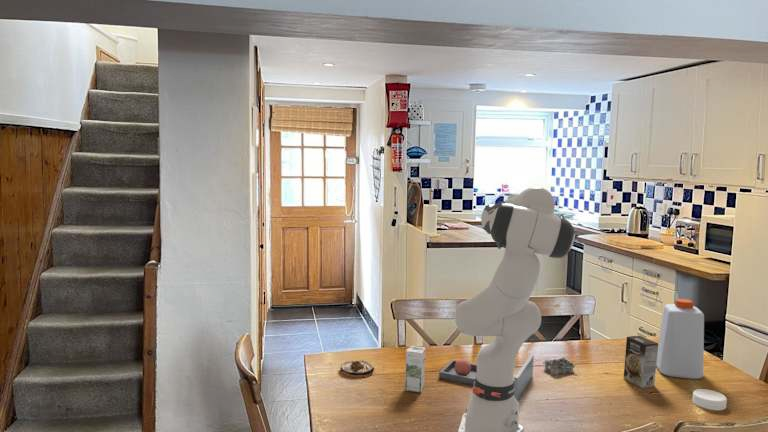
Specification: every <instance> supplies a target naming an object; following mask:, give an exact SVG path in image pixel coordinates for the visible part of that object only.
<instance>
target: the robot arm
mask: <svg viewBox="0 0 768 432" xmlns="http://www.w3.org/2000/svg"><path fill="white" fill-rule="evenodd" d="M555 206H556V205H555V199H554V195H553V194H552V193H551V192H550V191H549V190H548V189H546V188H544V187H539V186H533V187H529V188H526V189H524V190H523V191H521V192H520V193H512V194H510V195H508V196H507V199H506V200H505V199H504V200H503V201H500V202H497V203H495V204H494V203H489V204H487V205H486V206H485V207H484V208H483V210H482V213H481V217H480V219H481V220H480V221H481V226H482V227H481V228H482V230H484V231H485V232H486V233H487V234H488V235H490V236H491V238H492V240H493V241H494V243H496V245H497V249H499V250H501V248H502V247H503V248H504V254H503V257H502V259H501V261H500V262H499V264H498V267H497V268H496V270H495V273H494V275H493V277H492V279H491V281H490V284H489V285H488V286H487V287H486V288H485V289H484V290H483V291H481V292H480V293H479V294H477V295H475V296H473V297H472V298H469V299H466V300H463V301H461V302H460V303H459V304H458V305H457V307H456V308H455V311H454V323H455V326H456V329H458V331H459V332H460V333H461V334H463V335H467V336H471V337H495V338H494V340H492V341H491V342H490V343H489V344H487V345H485V346H483V347H482V348H481V349H480V350H479V352H478V354H477V357H476V364H477V372H476V377H475V381H474V386H472V390H471V392H470V399H469V403H468V407H466V410H465V411H466V412H464V413H463V414H462V417H461V421H460V424H459V427H458V431H457V432H525V431H524V430H525V428H524V426H523V425H521V424H520V403H519V401H518V400H516V398H515V397H514V392H515V381H514V378H515V367H516V360H517V355H518V353H519V351H520V349H521V348H522V346H523V345H524V343H525V342H526V341H527V339H529V338H530V337H531V336H532V335H534V334H535V333H537V332H538V330H539V328H540V327H541V324H542V314H541V310H540V309H539V307H538V306H539V305H537V304H536V303H535V302H534V301H531V300H530V298H531V295H532V293H533V292H534V289H535V287H536V285H537V282H538V279H539V276H540V269H541V264H540V263H541V262H540V260H539V258H538V256H537V254H538V255H543V256H548V257H549V258H552V259H562V258H563V257H565V256H567V254H568V253H569V252H570V250H571V249H572V247H573V245H574V242H575V228H574V226H573V224H572V223H571V222H570V221H569V220H568V219H566V218H565V217H564V214H562V213H560V215H559V214H555V213H554V212H555Z"/></svg>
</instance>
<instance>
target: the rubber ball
mask: <svg viewBox="0 0 768 432" xmlns="http://www.w3.org/2000/svg"><path fill="white" fill-rule="evenodd" d="M470 363H471V362H469V361H468V360H467V359H464V358H463V359H462V358H461V359H459V360H457V362H456V364H455V371H456V373H457V374H458V375H462V376H466V375H468V374H469V373H470V371H471V365H470Z"/></svg>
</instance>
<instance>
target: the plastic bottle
mask: <svg viewBox="0 0 768 432" xmlns="http://www.w3.org/2000/svg"><path fill="white" fill-rule="evenodd" d="M674 301H675V303H667V304H665V305H664V306H663V311H662V312H663V313H662V318H661V324H660V328H659V329H660V330H659V336H658V342H657V343H658V353H657V363H656V368H657V369H658V371H659V372H660V373H661V374H662V375H664V376H667V377H671V378H677V379H678V378H681V379H688V380H689V379H690V380H700V379H702V378H703V376H704V358H705V357H704V356H705V355H704V351H705V348H704V347H705V345H704V343H705V338H704V337H705V314H704V313H703V311H701V310H700V309H699V308H698V307H697V306H694V301H692V300H690V299H687V298H677V299H675V300H674Z"/></svg>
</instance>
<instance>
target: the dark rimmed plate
mask: <svg viewBox="0 0 768 432" xmlns="http://www.w3.org/2000/svg"><path fill="white" fill-rule="evenodd" d="M374 371H375V367H374V366H373V365H372V364H371V363H369V362H368V361H364V360H362V359H361V360H352V361H351V360H349V361H345V363H341V364H340V374H341V373H342V374H344V376H346V377H348V376H350V377H349V378H355V377H359V378H362V377H363V378H366V377H365V376H367V377H370V376H371V375H373V374H374ZM372 373H373V374H372ZM342 374H341V375H342ZM370 374H371V375H370ZM369 375H370V376H369Z"/></svg>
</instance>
